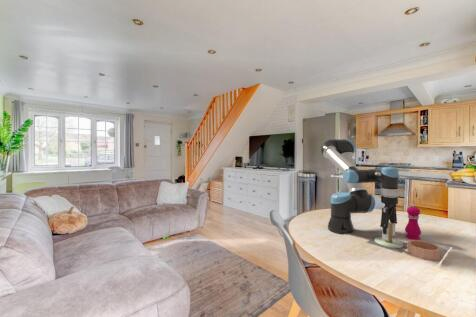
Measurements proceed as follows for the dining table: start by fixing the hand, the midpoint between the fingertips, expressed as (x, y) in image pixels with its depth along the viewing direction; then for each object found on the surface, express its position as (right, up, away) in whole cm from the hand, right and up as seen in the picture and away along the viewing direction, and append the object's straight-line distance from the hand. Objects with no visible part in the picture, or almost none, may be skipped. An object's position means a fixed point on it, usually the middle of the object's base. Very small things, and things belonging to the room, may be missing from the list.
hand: (388, 237), depth 120 cm
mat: (0, -4, 0) cm, 4 cm away
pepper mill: (+19, -4, +7) cm, 20 cm away
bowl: (+8, -4, -12) cm, 16 cm away
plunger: (0, -3, 0) cm, 3 cm away
